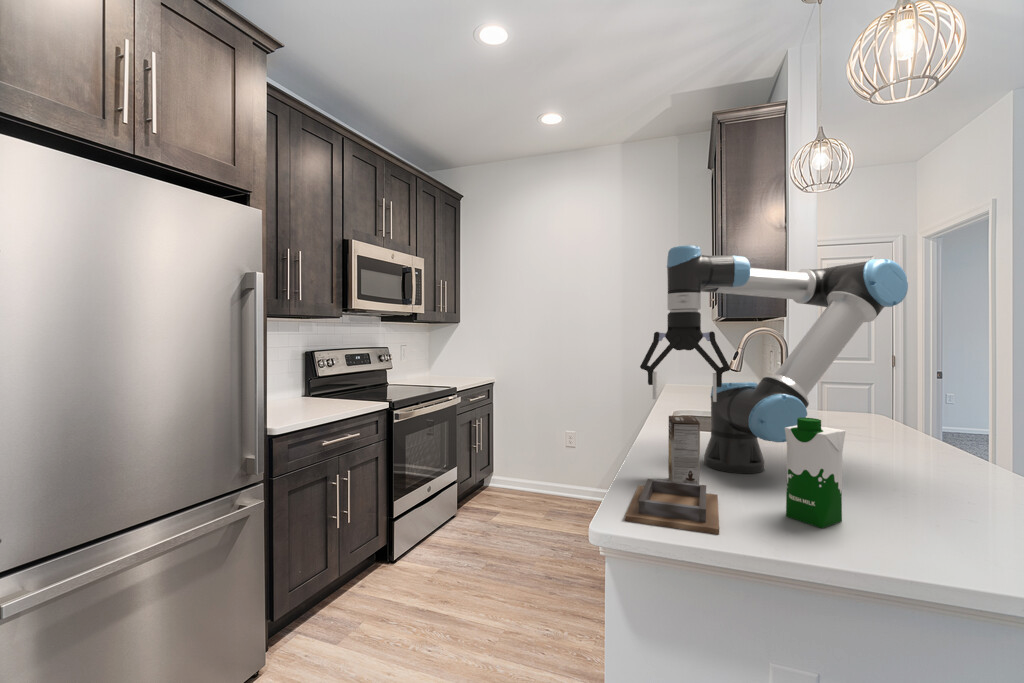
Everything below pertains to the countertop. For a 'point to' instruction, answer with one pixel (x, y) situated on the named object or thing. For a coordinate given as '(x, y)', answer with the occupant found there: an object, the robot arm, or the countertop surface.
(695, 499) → the pocket board
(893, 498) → the countertop surface
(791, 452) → the milk carton
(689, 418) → the coffee box
